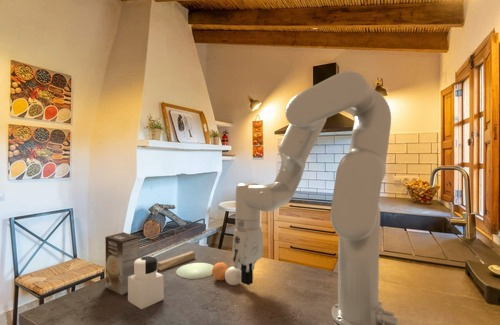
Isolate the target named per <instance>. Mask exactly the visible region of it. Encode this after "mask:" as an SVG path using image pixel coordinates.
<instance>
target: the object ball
mask: <svg viewBox="0 0 500 325" xmlns="http://www.w3.org/2000/svg"><path fill="white" fill-rule="evenodd" d="M213 266H214V267H213V269H212V277H213V278H214V279H215V280H217V281H223V280H225V272H226V270H227V269H228V268H229V266H228V264H226V262H222V261H221V262H217V263H215V264H214V265H213Z"/></svg>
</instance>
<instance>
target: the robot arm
mask: <svg viewBox="0 0 500 325" xmlns="http://www.w3.org/2000/svg"><path fill="white" fill-rule="evenodd" d="M288 101H289V102H288V103H287V105H286V107H285V118H286V120H287V121H288V123H289V125H288V127H287V129H286V130H285V133H284V135H283V137H282V139H281V142H280V143H279V145H278V153H279V155H280V160H281V164H280V168H279V170H278V173H277V175H276V177H275V179H274V181H273V182H272V183H268V184H264V185H260V184H258V183H255V182H240V183H238V184H237V185H236V187H235V219H234V220H235V223H234V226H235V229H234V232H233V238H232V248H231V249H232V255H231V256H232V262H233V263H234V265H233V266H234V268H236V269H240V270H241V281H240V283H242V284H243V285H247V286H250V285H252V284H253V282H254V281H253V278H254V276H253V275H254V273H253V272H254V270H255V264H256V263H257V261H258V260H261V258H263V256H264V239H263V231H262V227H261V212H267V213H268V212H273V211H275V210H277V209H279V208H282V207H284V206H286V205H288V203H289V202H290V201H291V200H292V198H293V196H294V195H295V194H296V192H297V189H298V187H299V185H300V183H301V180H302V178H303V174H304V170H305V169H306V168H305V167H306V162H307V160H308V158H309V156H310V153H311V152H312V150H313V147H315V144H316V142H317V140H318V138H319V137H320V134H321V132H322V130H323V128H324V127H325V124H326V122H327V119H328V118H331V117H332V116H335V115H336V114H337V115H338V114H340V113H342V112H345V113H348V114H350V115H351V116H352V117H353V126H352V133H351V140H350V145H349V151H348V152H347V153H346V154H345V155H344V156H343V157H342V158H341V160H340V161H339V163H338V166H337V168H336V174H335V178H334V188H333V193H332V200H331V206H330V208H331V209H330V223H331V225H332V228H333V230H334V231H335V232H336V234H337V235H338V248H337V250H338V252H337V253H338V256H337V257H338V258H337V259H338V260H337V303H335V304H334V305H333V306H332V307H331V317H332V320H334V321H335V323H337V324H338V325H386V324H387V325H398V321H399V319H398V317H395V312H392V311H389V310H385V309H384V308H383V302H381V301H379V290H380V289H379V283H380V282H379V279H380V278H379V277H380V276H379V272H380V270H379V267H380V262H379V260H380V233H381V232H380V230H381V210H380V207H379V200H380V196H381V190H382V183H383V180H384V179H385V176H386V172H387V170H386V168H387V165H386V164H387V156H388V150H389V142H390V135H391V127H392V114H391V108H390V106H389V103H388V101H387V100H386V99H385V97H384V96H383V94H381V93H380V92H378V91H377V90H376V89H374V88H373V87H372V86H370V85H369V83H368V81H367V79H366V78H365V77H364V76H363V75H362V74H360V73H358V72H356V71H352V70H350V71H349V70H347V71H343V72H341V71H340V72H338V73H336V74H334V75H332V76H330V77H328V78H326V79H324V80H322V81H320V82H318V83H317V84H314V85H313V86H310V87H308V88H306V89H304V90H302V91H301V92H299V93H297V94H296V95H295V96H293V97H292V98H291V99H290V100H288Z"/></svg>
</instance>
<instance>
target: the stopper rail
mask: <svg viewBox="0 0 500 325" xmlns="http://www.w3.org/2000/svg"><path fill="white" fill-rule="evenodd" d="M193 259H196V252H195V251H193V250H190V251H187V252H184V253H181V254H178V255H176V256H173V257H169V258H166V259H164V260H160V261H157V271H165V270H166V269H168V268H169V269H170V268H171V267H174V266H177V265H180V264H183V263H186V262H189V261H191V260H193Z"/></svg>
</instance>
